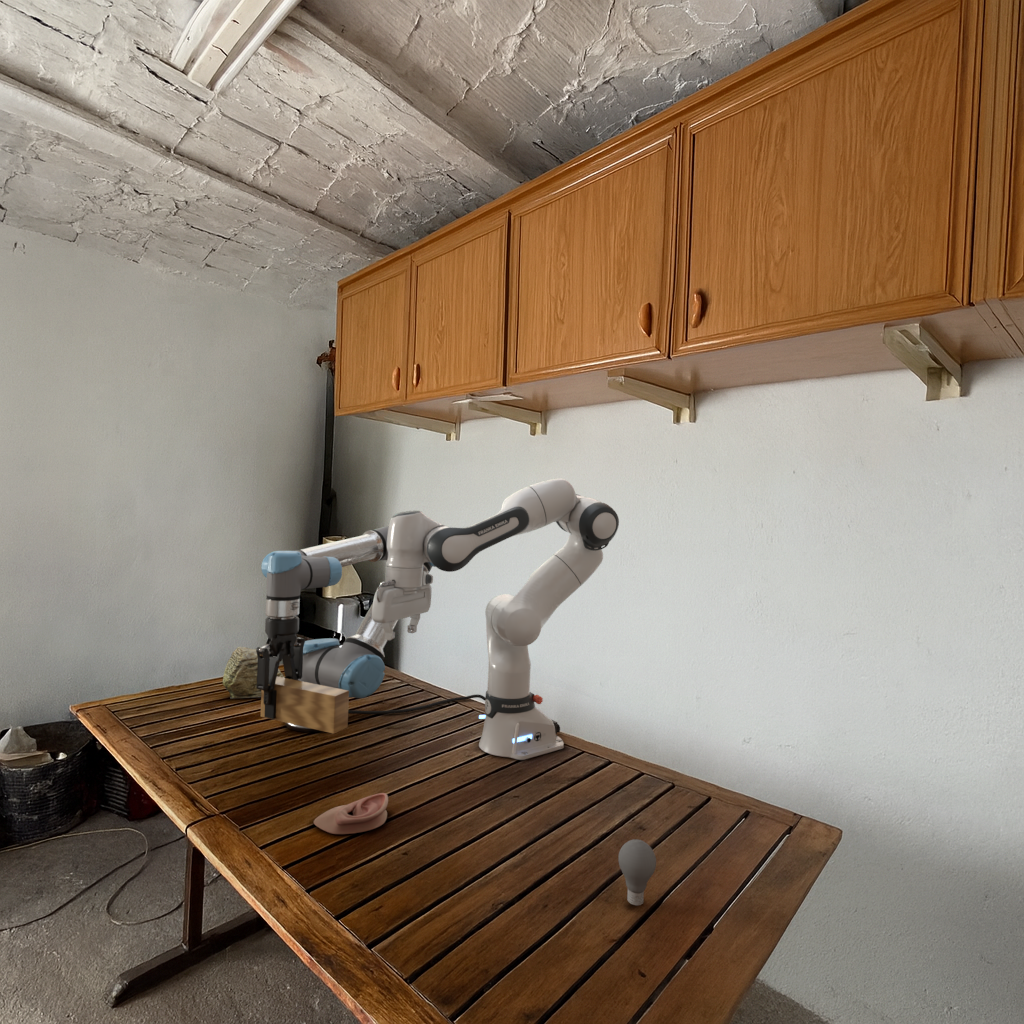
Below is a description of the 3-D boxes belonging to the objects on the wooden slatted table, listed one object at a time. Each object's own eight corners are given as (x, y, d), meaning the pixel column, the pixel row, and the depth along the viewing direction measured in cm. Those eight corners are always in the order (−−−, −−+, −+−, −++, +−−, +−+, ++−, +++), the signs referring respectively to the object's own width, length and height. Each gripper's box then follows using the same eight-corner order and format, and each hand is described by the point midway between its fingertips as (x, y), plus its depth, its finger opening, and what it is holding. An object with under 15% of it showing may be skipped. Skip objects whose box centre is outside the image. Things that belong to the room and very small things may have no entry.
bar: (260, 716, 149) (261, 681, 149) (275, 710, 154) (277, 676, 154) (333, 733, 141) (335, 696, 141) (347, 727, 145) (349, 690, 145)
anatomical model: (306, 809, 120) (334, 783, 131) (305, 829, 120) (334, 802, 131) (371, 819, 117) (395, 791, 129) (370, 840, 117) (394, 811, 129)
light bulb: (612, 891, 105) (615, 832, 105) (647, 891, 106) (650, 832, 105) (621, 915, 99) (624, 852, 99) (659, 914, 100) (662, 852, 99)
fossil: (218, 695, 195) (220, 647, 195) (278, 685, 208) (279, 640, 207) (228, 703, 189) (230, 653, 188) (289, 692, 201) (290, 645, 201)
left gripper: (265, 624, 140) (262, 728, 141) (320, 612, 157) (317, 706, 157) (240, 620, 143) (237, 722, 144) (297, 609, 160) (293, 701, 160)
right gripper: (389, 584, 140) (386, 646, 140) (436, 575, 159) (434, 630, 159) (366, 581, 143) (363, 642, 143) (415, 573, 162) (412, 627, 162)
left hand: (279, 713), depth 150 cm, fingers closed on bar, 5 cm apart
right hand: (401, 636), depth 151 cm, fingers open, 8 cm apart
